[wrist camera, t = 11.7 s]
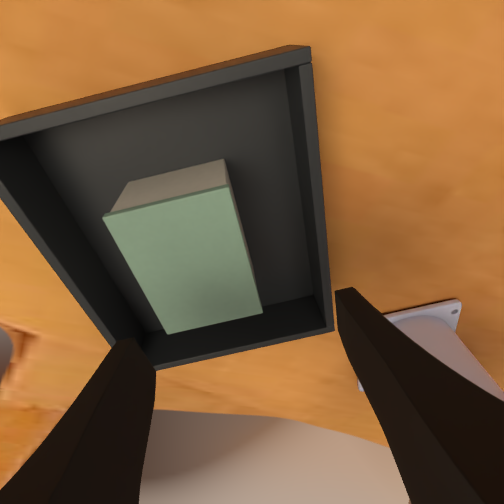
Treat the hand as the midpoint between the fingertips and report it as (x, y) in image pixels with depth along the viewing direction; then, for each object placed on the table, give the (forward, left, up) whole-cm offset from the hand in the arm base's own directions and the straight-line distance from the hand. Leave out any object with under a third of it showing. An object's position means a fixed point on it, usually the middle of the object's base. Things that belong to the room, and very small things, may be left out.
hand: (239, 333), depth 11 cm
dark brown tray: (0, +2, -8) cm, 9 cm away
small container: (0, +2, -8) cm, 8 cm away
